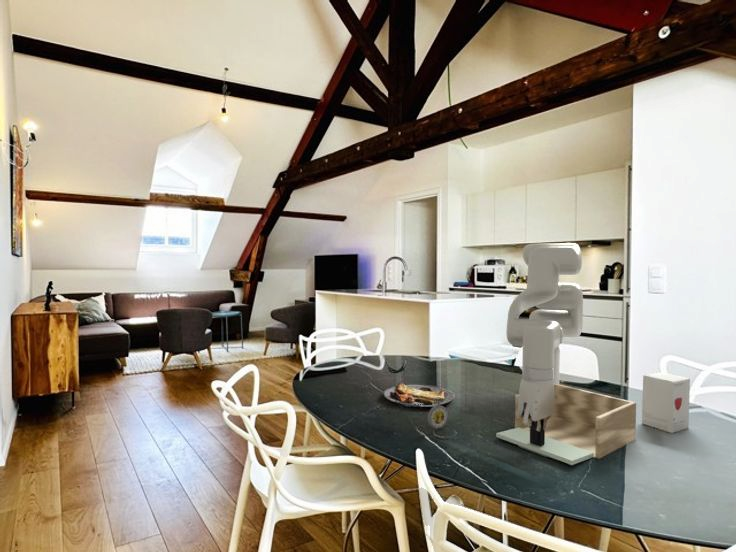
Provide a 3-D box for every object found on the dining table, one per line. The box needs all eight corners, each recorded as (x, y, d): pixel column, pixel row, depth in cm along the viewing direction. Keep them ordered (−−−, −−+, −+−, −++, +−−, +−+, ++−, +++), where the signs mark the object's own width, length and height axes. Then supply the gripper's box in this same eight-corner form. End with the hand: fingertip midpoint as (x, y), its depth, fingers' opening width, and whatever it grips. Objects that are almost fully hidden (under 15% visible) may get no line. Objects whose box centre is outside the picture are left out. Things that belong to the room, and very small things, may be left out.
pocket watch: (451, 442, 125) (451, 406, 124) (423, 435, 129) (423, 400, 129) (462, 432, 132) (462, 398, 131) (435, 426, 136) (435, 393, 136)
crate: (514, 432, 131) (515, 394, 131) (553, 418, 143) (553, 383, 143) (599, 462, 112) (600, 418, 112) (635, 442, 124) (636, 402, 124)
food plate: (372, 402, 158) (372, 392, 158) (399, 386, 179) (399, 377, 179) (441, 416, 147) (441, 405, 147) (461, 397, 168) (462, 387, 167)
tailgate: (518, 433, 130) (495, 439, 124) (518, 427, 130) (496, 433, 124) (593, 459, 113) (571, 467, 107) (593, 452, 113) (572, 460, 107)
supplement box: (672, 434, 130) (673, 381, 130) (640, 423, 138) (641, 374, 137) (689, 428, 134) (691, 378, 134) (658, 418, 142) (659, 371, 142)
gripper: (541, 366, 123) (540, 432, 124) (507, 374, 114) (506, 446, 115) (567, 371, 117) (566, 441, 118) (534, 381, 108) (533, 457, 109)
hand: (537, 444), depth 117 cm, fingers closed
